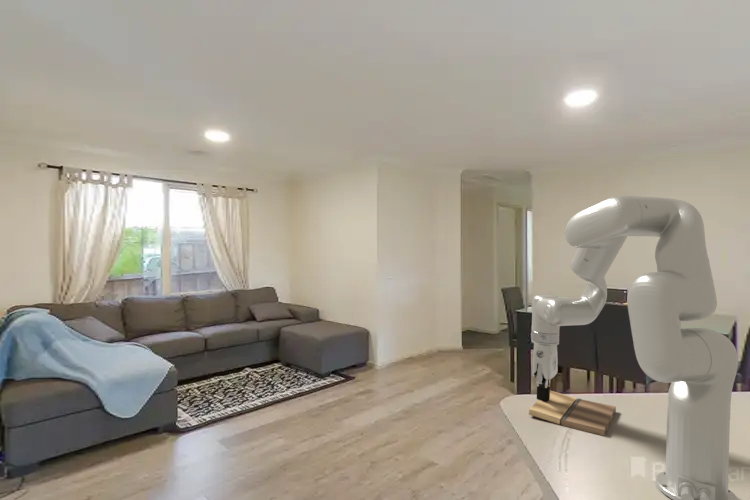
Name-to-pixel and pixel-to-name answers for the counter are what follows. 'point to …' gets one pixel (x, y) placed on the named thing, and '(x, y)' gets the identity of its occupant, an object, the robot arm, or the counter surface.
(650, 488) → the counter surface
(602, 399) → the counter surface
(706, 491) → the robot arm
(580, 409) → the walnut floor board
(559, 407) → the oak plank
